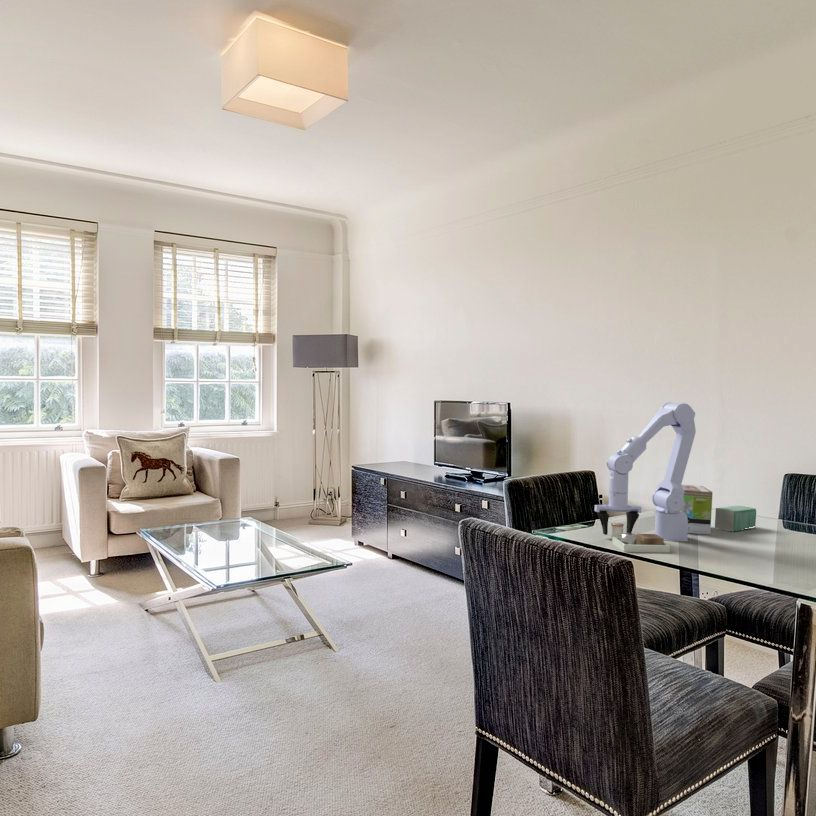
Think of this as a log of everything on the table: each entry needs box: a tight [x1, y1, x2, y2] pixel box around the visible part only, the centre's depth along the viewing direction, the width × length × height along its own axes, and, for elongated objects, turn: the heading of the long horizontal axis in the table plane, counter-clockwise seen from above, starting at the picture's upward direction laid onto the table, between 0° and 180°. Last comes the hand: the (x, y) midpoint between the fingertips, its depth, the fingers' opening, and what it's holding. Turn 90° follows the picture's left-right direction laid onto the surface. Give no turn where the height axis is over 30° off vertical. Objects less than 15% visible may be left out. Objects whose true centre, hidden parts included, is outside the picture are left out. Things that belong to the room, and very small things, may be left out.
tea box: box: [680, 484, 713, 535], centre depth 235 cm, size 15×10×15 cm, turn 168°
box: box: [714, 505, 757, 533], centre depth 238 cm, size 7×14×8 cm, turn 122°
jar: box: [610, 522, 624, 540], centre depth 217 cm, size 4×4×5 cm
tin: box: [621, 532, 637, 545], centre depth 205 cm, size 4×4×4 cm
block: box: [635, 533, 665, 545], centre depth 205 cm, size 6×6×4 cm
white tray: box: [611, 537, 671, 554], centre depth 205 cm, size 14×10×2 cm
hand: (617, 534), depth 217 cm, fingers open, 7 cm apart
